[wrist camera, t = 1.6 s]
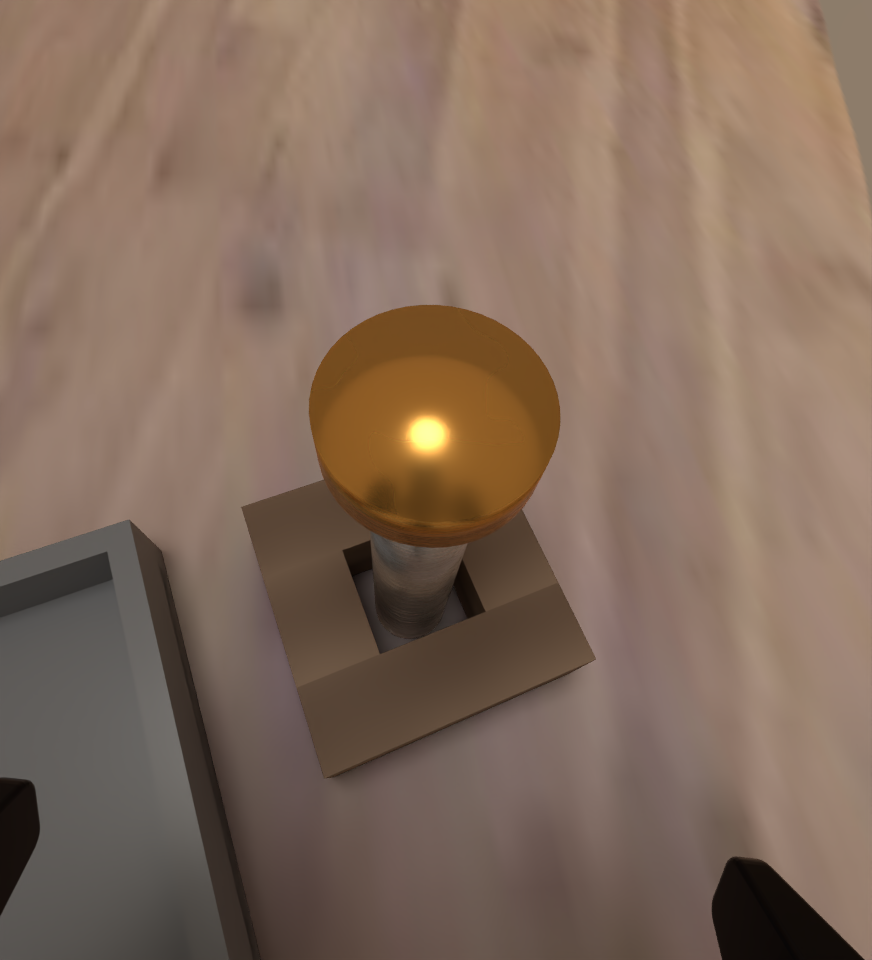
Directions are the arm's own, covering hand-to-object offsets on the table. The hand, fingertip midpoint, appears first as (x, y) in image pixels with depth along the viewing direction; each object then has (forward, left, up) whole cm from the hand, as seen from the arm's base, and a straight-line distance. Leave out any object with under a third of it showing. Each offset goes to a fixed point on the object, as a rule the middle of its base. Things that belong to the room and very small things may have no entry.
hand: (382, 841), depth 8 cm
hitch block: (+5, -3, -12) cm, 14 cm away
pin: (+5, -3, -12) cm, 14 cm away
